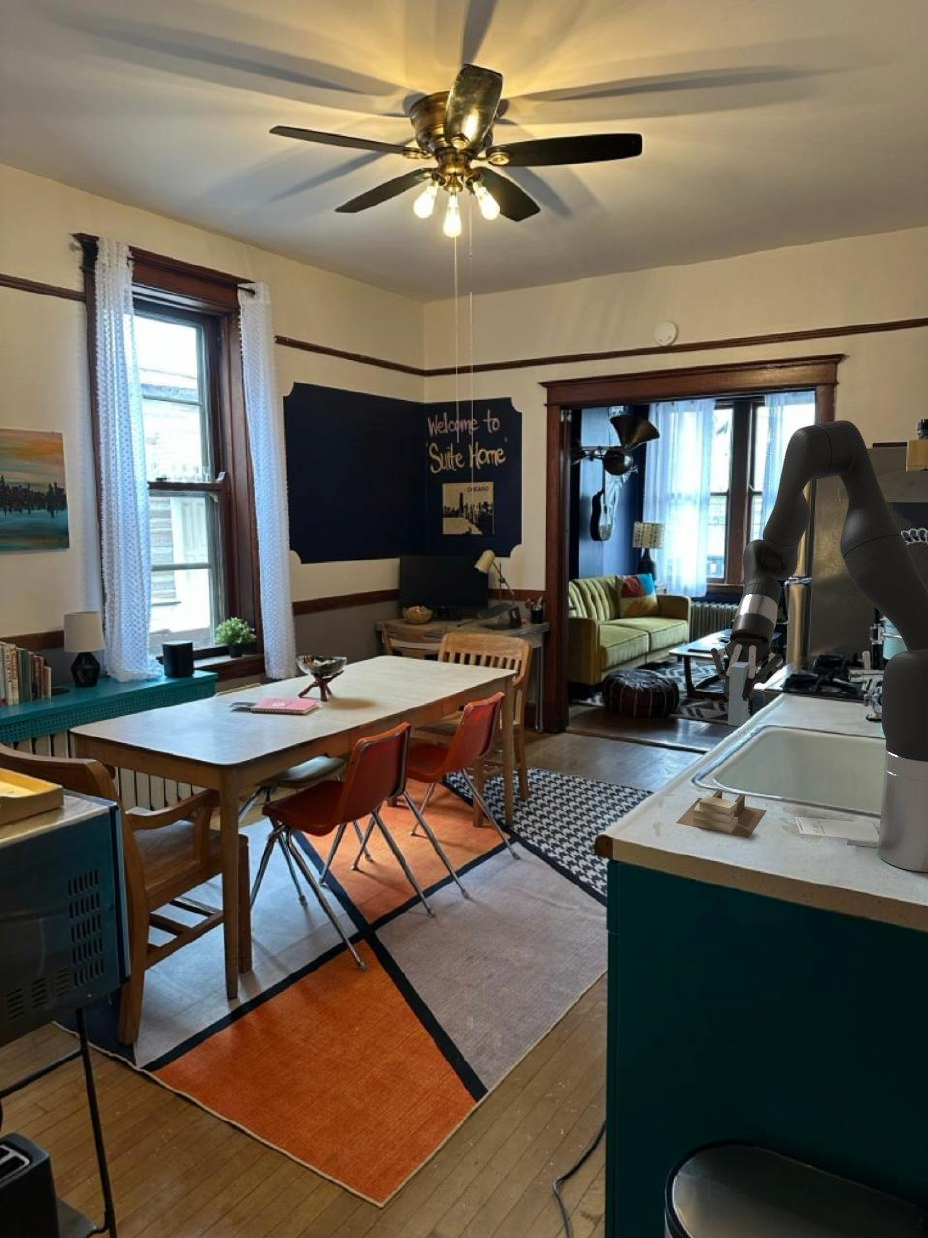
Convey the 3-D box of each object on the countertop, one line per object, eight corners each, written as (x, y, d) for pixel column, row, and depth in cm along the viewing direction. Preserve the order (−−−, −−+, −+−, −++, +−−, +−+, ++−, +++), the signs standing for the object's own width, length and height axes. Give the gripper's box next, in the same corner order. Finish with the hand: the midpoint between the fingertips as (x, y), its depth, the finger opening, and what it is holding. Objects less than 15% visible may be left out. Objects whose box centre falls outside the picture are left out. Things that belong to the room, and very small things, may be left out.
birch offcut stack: (737, 825, 137) (738, 801, 136) (731, 833, 133) (732, 809, 133) (698, 817, 140) (699, 794, 140) (691, 825, 137) (692, 801, 136)
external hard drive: (882, 851, 130) (800, 843, 133) (871, 831, 138) (793, 824, 141) (883, 841, 130) (800, 833, 133) (872, 822, 138) (794, 815, 141)
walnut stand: (766, 815, 143) (767, 797, 143) (748, 843, 132) (749, 823, 131) (698, 802, 150) (699, 784, 149) (675, 828, 138) (676, 808, 137)
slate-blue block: (747, 719, 152) (750, 662, 150) (741, 726, 147) (743, 667, 146) (734, 718, 153) (736, 661, 151) (727, 724, 149) (730, 666, 147)
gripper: (715, 609, 157) (694, 682, 149) (790, 613, 150) (773, 691, 141) (720, 632, 162) (701, 704, 154) (794, 637, 155) (778, 713, 147)
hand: (736, 697), depth 148 cm, fingers closed on slate-blue block, 2 cm apart
